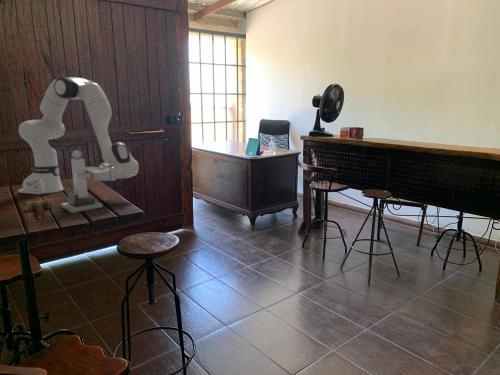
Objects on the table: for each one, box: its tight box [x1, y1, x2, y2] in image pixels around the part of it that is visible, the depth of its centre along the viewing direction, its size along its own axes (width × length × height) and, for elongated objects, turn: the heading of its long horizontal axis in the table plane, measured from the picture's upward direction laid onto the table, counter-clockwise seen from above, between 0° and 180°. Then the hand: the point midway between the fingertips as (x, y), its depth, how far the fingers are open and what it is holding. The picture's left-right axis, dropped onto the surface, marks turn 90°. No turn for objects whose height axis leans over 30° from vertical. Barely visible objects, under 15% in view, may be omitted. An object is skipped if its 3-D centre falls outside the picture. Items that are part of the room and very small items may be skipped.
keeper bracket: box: [60, 191, 104, 214], centre depth 180 cm, size 14×14×7 cm
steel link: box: [70, 149, 89, 200], centre depth 177 cm, size 4×4×24 cm
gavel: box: [26, 198, 53, 220], centre depth 169 cm, size 21×5×10 cm
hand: (77, 175), depth 177 cm, fingers closed on steel link, 4 cm apart
